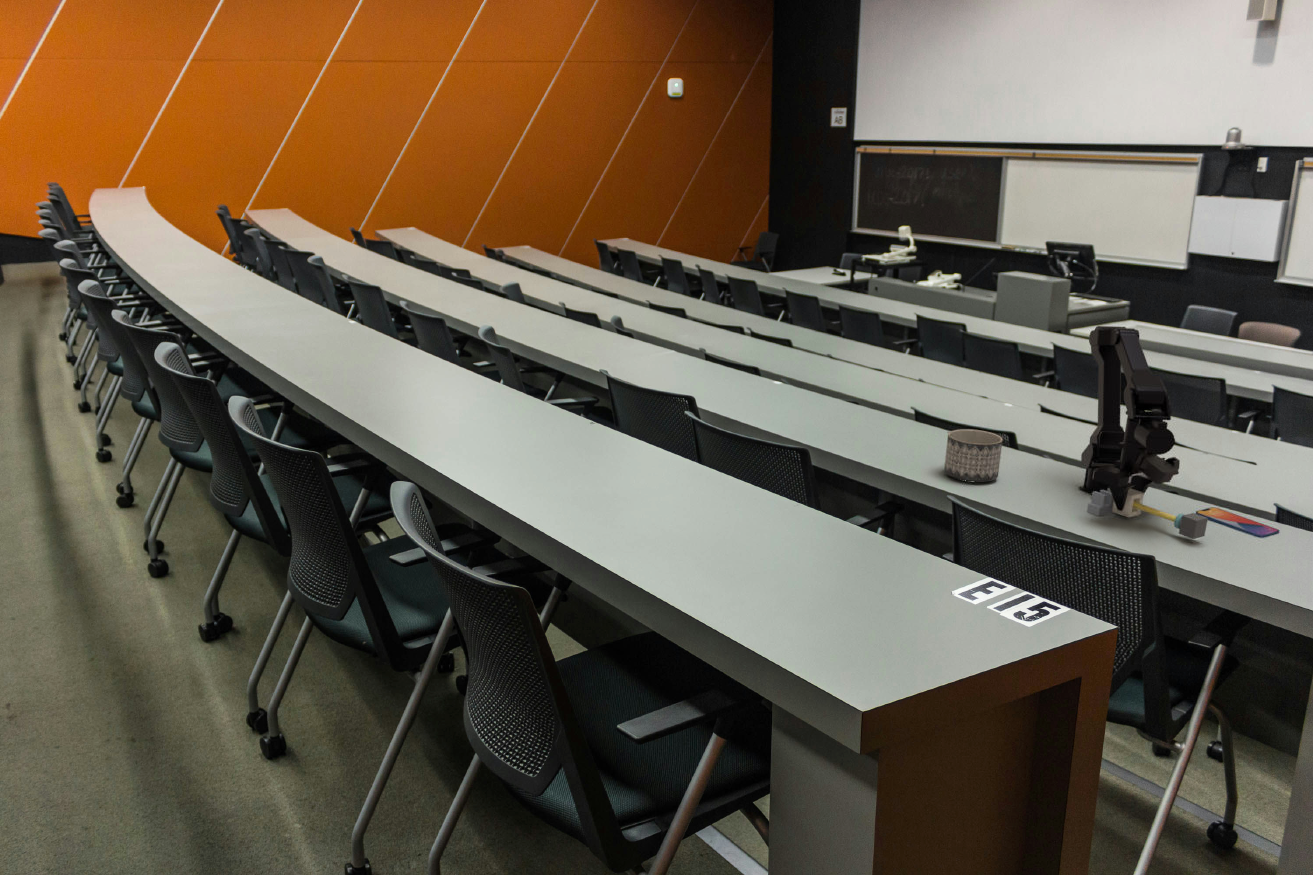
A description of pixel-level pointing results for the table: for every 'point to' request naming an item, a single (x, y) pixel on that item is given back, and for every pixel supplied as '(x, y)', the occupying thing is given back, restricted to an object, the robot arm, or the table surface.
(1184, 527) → the dark grey cube
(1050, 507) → the table surface
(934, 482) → the table surface
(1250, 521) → the smartphone
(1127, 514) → the sleeve
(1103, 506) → the comb
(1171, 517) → the rod
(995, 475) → the planter
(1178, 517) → the teal puck
